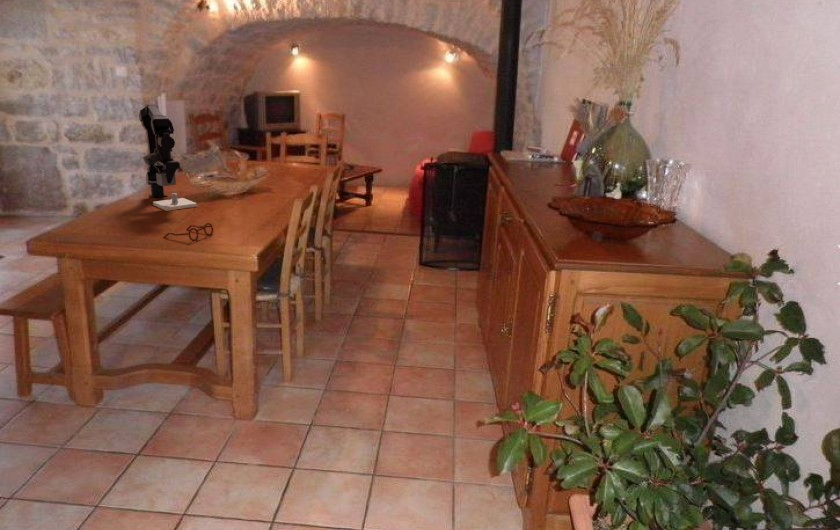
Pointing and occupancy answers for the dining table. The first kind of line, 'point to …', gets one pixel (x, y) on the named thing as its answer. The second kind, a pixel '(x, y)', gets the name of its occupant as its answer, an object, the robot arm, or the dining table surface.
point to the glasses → (195, 230)
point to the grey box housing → (164, 179)
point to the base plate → (174, 203)
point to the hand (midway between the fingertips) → (166, 182)
